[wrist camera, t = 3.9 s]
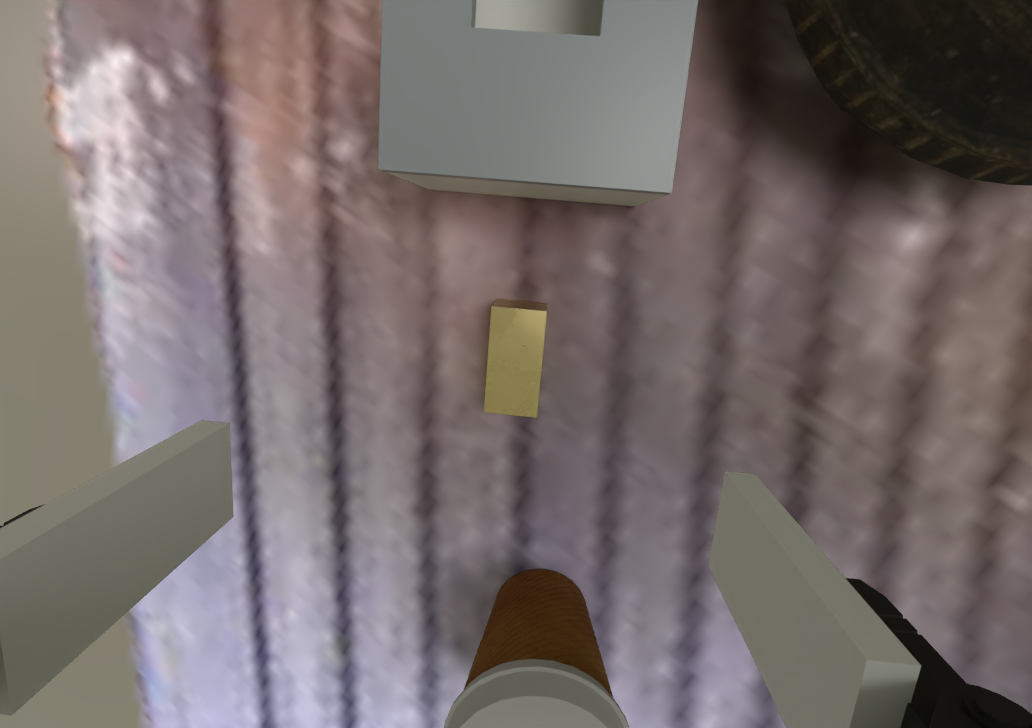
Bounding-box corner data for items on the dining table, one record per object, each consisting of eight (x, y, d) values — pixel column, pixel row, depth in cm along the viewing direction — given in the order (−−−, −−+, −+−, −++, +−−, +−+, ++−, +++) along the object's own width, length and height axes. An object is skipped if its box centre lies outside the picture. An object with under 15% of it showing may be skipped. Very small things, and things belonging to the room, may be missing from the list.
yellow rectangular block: (538, 397, 35) (536, 417, 31) (491, 393, 35) (483, 412, 32) (547, 302, 34) (546, 311, 30) (498, 298, 34) (491, 306, 30)
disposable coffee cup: (478, 538, 38) (446, 673, 26) (620, 557, 37) (652, 703, 26) (465, 658, 40) (429, 834, 28) (599, 678, 39) (619, 863, 28)
